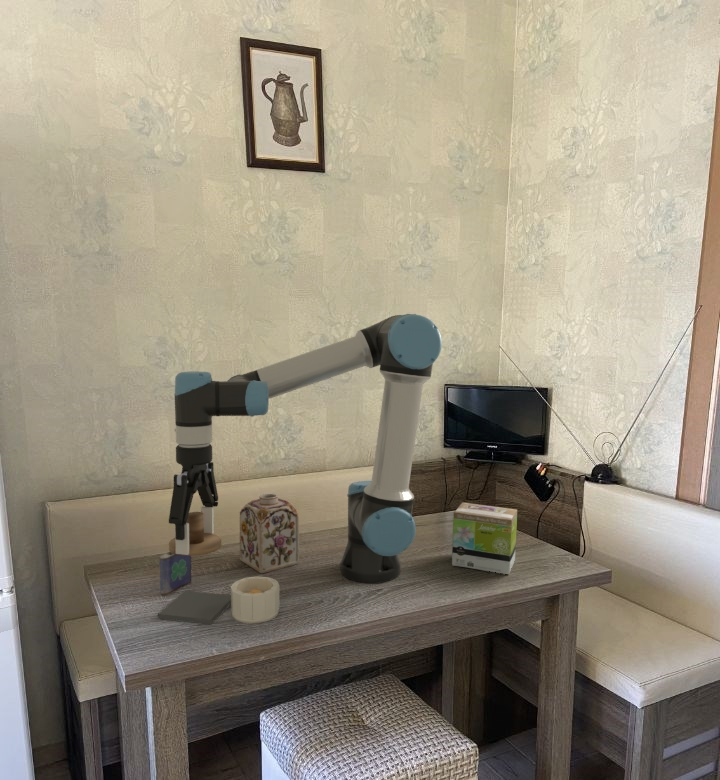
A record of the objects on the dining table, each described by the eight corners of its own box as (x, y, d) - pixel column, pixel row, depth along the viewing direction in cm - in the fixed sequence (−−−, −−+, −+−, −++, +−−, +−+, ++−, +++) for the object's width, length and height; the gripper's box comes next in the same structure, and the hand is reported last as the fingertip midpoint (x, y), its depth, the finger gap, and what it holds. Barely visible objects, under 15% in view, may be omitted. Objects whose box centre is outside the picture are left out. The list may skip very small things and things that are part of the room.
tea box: (451, 567, 162) (452, 511, 160) (459, 554, 171) (461, 501, 169) (510, 576, 156) (512, 518, 154) (516, 562, 165) (517, 507, 164)
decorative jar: (260, 575, 156) (259, 504, 154) (238, 561, 165) (237, 494, 163) (300, 564, 163) (300, 496, 161) (277, 551, 172) (277, 487, 170)
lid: (229, 540, 140) (229, 508, 139) (207, 557, 129) (207, 523, 128) (184, 536, 142) (183, 505, 141) (159, 553, 131) (158, 519, 130)
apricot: (267, 605, 137) (267, 587, 136) (260, 613, 133) (260, 595, 132) (250, 603, 137) (249, 585, 137) (243, 611, 134) (242, 593, 133)
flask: (165, 596, 143) (164, 551, 142) (156, 594, 144) (155, 548, 143) (194, 582, 151) (193, 539, 150) (185, 580, 152) (184, 537, 151)
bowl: (284, 604, 139) (284, 578, 138) (269, 625, 129) (269, 597, 129) (242, 600, 141) (242, 574, 140) (224, 620, 131) (223, 593, 131)
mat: (234, 599, 142) (234, 595, 141) (211, 624, 130) (211, 619, 130) (185, 594, 144) (185, 590, 144) (158, 618, 132) (158, 613, 132)
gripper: (202, 434, 145) (203, 526, 148) (148, 454, 123) (151, 562, 125) (232, 435, 144) (233, 528, 146) (183, 456, 121) (185, 565, 123)
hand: (195, 544), depth 135 cm, fingers closed on lid, 11 cm apart
